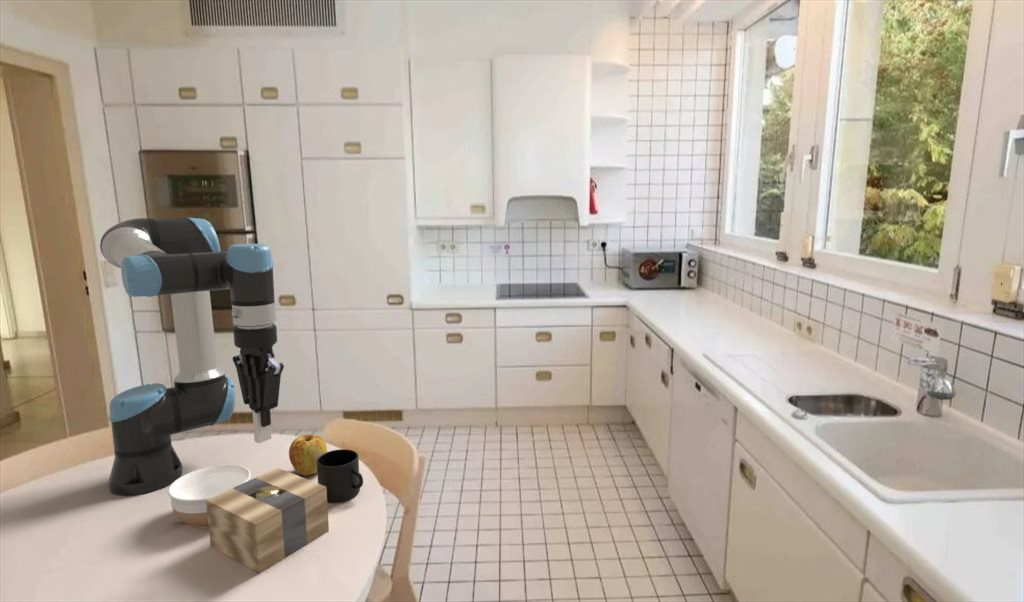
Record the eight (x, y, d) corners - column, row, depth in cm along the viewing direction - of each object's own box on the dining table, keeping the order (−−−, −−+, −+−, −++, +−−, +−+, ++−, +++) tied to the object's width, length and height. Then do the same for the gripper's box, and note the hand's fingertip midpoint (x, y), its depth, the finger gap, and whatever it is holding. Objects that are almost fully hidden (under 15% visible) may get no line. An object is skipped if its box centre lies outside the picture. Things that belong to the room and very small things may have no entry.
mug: (349, 510, 122) (347, 472, 120) (309, 497, 127) (307, 461, 125) (376, 490, 130) (375, 455, 129) (338, 480, 135) (336, 446, 134)
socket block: (210, 546, 108) (206, 500, 107) (280, 509, 122) (277, 467, 120) (259, 573, 100) (255, 524, 99) (328, 530, 114) (326, 486, 112)
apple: (314, 461, 145) (312, 425, 144) (335, 470, 140) (333, 434, 138) (283, 474, 138) (281, 437, 136) (304, 484, 133) (301, 446, 131)
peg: (254, 533, 110) (250, 492, 109) (273, 523, 114) (270, 483, 112) (267, 540, 108) (264, 498, 106) (286, 529, 111) (284, 489, 110)
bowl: (269, 504, 124) (266, 472, 122) (204, 543, 109) (200, 507, 108) (221, 489, 130) (218, 458, 129) (154, 523, 116) (150, 489, 115)
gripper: (216, 324, 104) (225, 439, 108) (257, 333, 97) (266, 455, 101) (252, 317, 110) (260, 426, 114) (293, 325, 103) (300, 440, 108)
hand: (263, 439), depth 108 cm, fingers closed
